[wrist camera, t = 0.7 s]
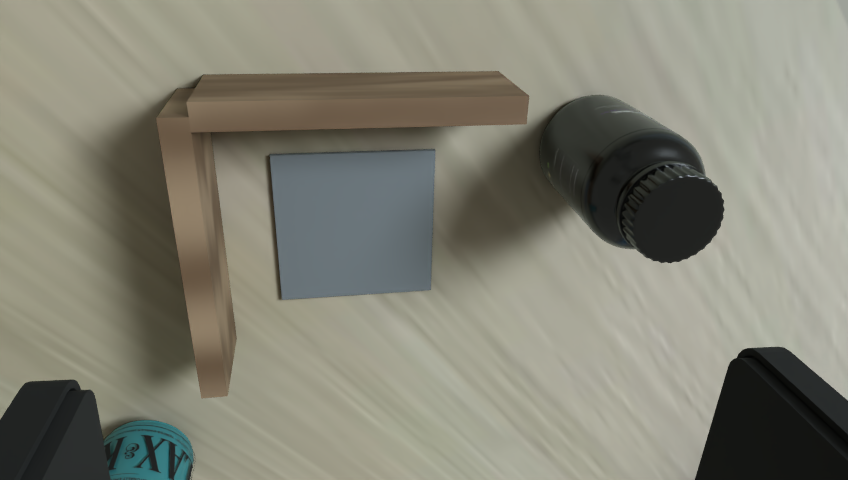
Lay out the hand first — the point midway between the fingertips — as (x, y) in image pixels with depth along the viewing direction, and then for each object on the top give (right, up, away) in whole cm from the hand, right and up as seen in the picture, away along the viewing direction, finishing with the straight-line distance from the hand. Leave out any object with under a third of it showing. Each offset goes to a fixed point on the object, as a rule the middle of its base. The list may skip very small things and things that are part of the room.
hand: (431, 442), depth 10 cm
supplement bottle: (+10, +9, +33) cm, 35 cm away
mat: (-5, +4, +32) cm, 33 cm away
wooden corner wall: (-5, +5, +32) cm, 33 cm away
